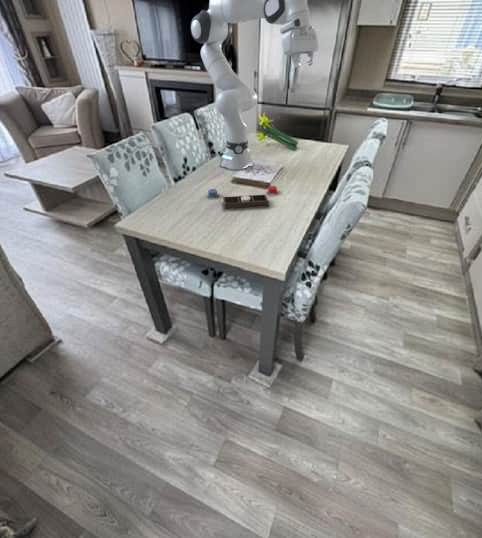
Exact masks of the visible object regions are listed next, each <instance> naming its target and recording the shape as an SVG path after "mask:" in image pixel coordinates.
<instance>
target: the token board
mask: <svg viewBox="0 0 482 538" xmlns="http://www.w3.org/2000/svg"><path fill="white" fill-rule="evenodd" d="M242 196H243V195H235V196H234V195H233V196H232V195H231V196H222V202H223V207H224V210H231V209H234V210H235V209H247V208H248V209H249V208H264V207H269V199H268V197H267V194H252V195H249V194H248V196H249V197H250V202H241V197H242Z"/></svg>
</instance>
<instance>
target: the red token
mask: <svg viewBox="0 0 482 538" xmlns="http://www.w3.org/2000/svg"><path fill="white" fill-rule="evenodd" d="M267 191H268V192H267V193H269V194H271V195H274V194H277V193H278V187H277V186H276V185H269V186H268V188H267Z"/></svg>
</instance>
